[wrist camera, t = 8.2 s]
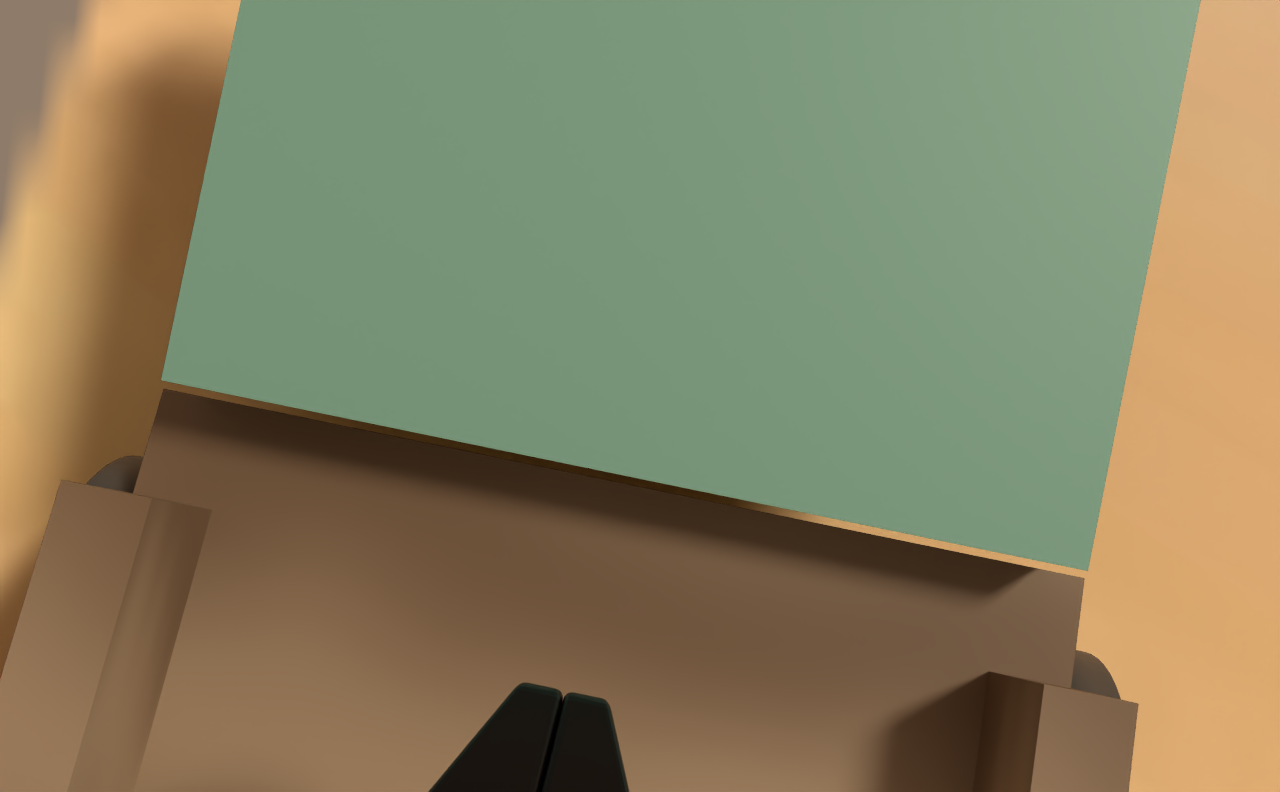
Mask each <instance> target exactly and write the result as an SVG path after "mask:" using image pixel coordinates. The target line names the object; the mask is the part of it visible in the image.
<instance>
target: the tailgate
mask: <svg viewBox="0 0 1280 792" xmlns="http://www.w3.org/2000/svg"><path fill="white" fill-rule="evenodd" d="M1200 1H1201V0H241V4H240V8H239V13H238V18H237V23H236V27H235V32H234V37H233V41H232V46H231V51H230V56H229V60H228V65H227V70H226V75H225V79H224V84H223V89H222V94H221V98H220V103H219V108H218V113H217V117H216V122H215V127H214V132H213V136H212V141H211V146H210V151H209V155H208V160H207V165H206V169H205V174H204V179H203V184H202V188H201V193H200V198H199V203H198V207H197V212H196V217H195V222H194V226H193V231H192V236H191V241H190V245H189V250H188V255H187V260H186V264H185V269H184V274H183V278H182V283H181V288H180V293H179V297H178V302H177V307H176V312H175V316H174V321H173V326H172V331H171V335H170V340H169V345H168V350H167V354H166V359H165V364H164V369H163V373H162V378H161V380H162V381H167V382H172V383H177V384H181V385H186V386H191V387H196V388H201V389H206V390H211V391H215V392H220V393H225V394H230V395H235V396H240V397H245V398H249V399H254V400H259V401H264V402H269V403H274V404H279V405H283V406H288V407H293V408H298V409H303V410H308V411H313V412H318V413H322V414H327V415H332V416H337V417H342V418H347V419H352V420H356V421H361V422H366V423H371V424H376V425H381V426H386V427H390V428H395V429H400V430H405V431H410V432H415V433H420V434H424V435H429V436H434V437H439V438H444V439H449V440H454V441H459V442H463V443H468V444H473V445H478V446H483V447H488V448H493V449H497V450H502V451H507V452H512V453H517V454H522V455H527V456H531V457H536V458H541V459H546V460H551V461H556V462H561V463H565V464H570V465H575V466H580V467H585V468H590V469H595V470H600V471H604V472H609V473H614V474H619V475H624V476H629V477H634V478H638V479H643V480H648V481H653V482H658V483H663V484H668V485H672V486H677V487H682V488H687V489H692V490H697V491H702V492H707V493H711V494H716V495H721V496H726V497H731V498H736V499H741V500H745V501H750V502H755V503H760V504H765V505H770V506H775V507H779V508H784V509H789V510H794V511H799V512H804V513H809V514H813V515H818V516H823V517H828V518H833V519H838V520H843V521H848V522H852V523H857V524H862V525H867V526H872V527H877V528H882V529H886V530H891V531H896V532H901V533H906V534H911V535H916V536H920V537H925V538H930V539H935V540H940V541H945V542H950V543H954V544H959V545H964V546H969V547H974V548H979V549H984V550H989V551H993V552H998V553H1003V554H1008V555H1013V556H1018V557H1023V558H1027V559H1032V560H1037V561H1042V562H1047V563H1052V564H1057V565H1061V566H1066V567H1071V568H1076V569H1081V570H1086V571H1088V567H1089V562H1090V557H1091V552H1092V547H1093V542H1094V537H1095V532H1096V527H1097V522H1098V517H1099V512H1100V507H1101V502H1102V496H1103V491H1104V486H1105V481H1106V476H1107V471H1108V466H1109V461H1110V456H1111V451H1112V446H1113V441H1114V436H1115V431H1116V426H1117V421H1118V416H1119V411H1120V406H1121V400H1122V395H1123V390H1124V385H1125V380H1126V375H1127V370H1128V365H1129V360H1130V355H1131V350H1132V345H1133V340H1134V335H1135V330H1136V325H1137V320H1138V315H1139V309H1140V304H1141V299H1142V294H1143V289H1144V284H1145V279H1146V274H1147V269H1148V264H1149V259H1150V254H1151V249H1152V244H1153V239H1154V234H1155V229H1156V224H1157V219H1158V213H1159V208H1160V203H1161V198H1162V193H1163V188H1164V183H1165V178H1166V173H1167V168H1168V163H1169V158H1170V153H1171V148H1172V143H1173V138H1174V133H1175V128H1176V122H1177V117H1178V112H1179V107H1180V102H1181V97H1182V92H1183V87H1184V82H1185V77H1186V72H1187V67H1188V62H1189V57H1190V52H1191V47H1192V42H1193V37H1194V32H1195V26H1196V21H1197V16H1198V11H1199V6H1200Z"/></svg>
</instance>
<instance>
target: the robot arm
mask: <svg viewBox="0 0 1280 792" xmlns="http://www.w3.org/2000/svg"><path fill="white" fill-rule="evenodd" d="M428 792H629V787H628V783H627V778H626V774H625V769H624V765H623V760H622V756H621V751H620V747H619V742H618V738H617V733H616V729H615V724H614V720H613V715H612V711H611V707H610V705H609V703H608V702H607V701H606V700H605V699H603V698H599V697H594V696H589V695H585V694H580V693H575V692H570V693H568V694H566V695H565V696H564V698H563V695H562V692H561V691H560V690H558V689H556V688H551V687H547V686H542V685H537V684H532V683H528V682H524V683H521V684H519V685H518V686H517V687H515V688H514V689H513V691H512V692H511V693H510V694H509V695H508V696H507V698H506V699H505V700H504V701H503V702H502V704H501V705H500V706H499V707H498V708H497V710H496V711H495V712H494V713H493V714H492V716H491V717H490V718H489V719H488V720H487V722H486V723H485V724H484V725H483V726H482V728H481V729H480V730H479V731H478V732H477V734H476V735H475V736H474V737H473V738H472V740H471V741H470V742H469V743H468V744H467V746H466V747H465V748H464V749H463V750H462V752H461V753H460V754H459V755H458V756H457V758H456V759H455V760H454V761H453V762H452V764H451V765H450V766H449V767H448V768H447V770H446V771H445V772H444V773H443V774H442V776H441V777H440V778H439V779H438V780H437V782H436V783H435V784H434V785H433V786H432V788H431V789H430V790H429V791H428Z"/></svg>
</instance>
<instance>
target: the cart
mask: <svg viewBox="0 0 1280 792" xmlns="http://www.w3.org/2000/svg"><path fill="white" fill-rule="evenodd" d="M1083 586H1084V578H1080V577H1075V576H1071V575H1066V574H1061V573H1056V572H1051V571H1046V570H1041V569H1037V568H1032V567H1027V566H1022V565H1017V564H1012V563H1007V562H1003V561H998V560H993V559H988V558H983V557H978V556H973V555H969V554H964V553H959V552H954V551H949V550H944V549H939V548H935V547H930V546H925V545H920V544H915V543H910V542H905V541H901V540H896V539H891V538H886V537H881V536H876V535H871V534H866V533H862V532H857V531H852V530H847V529H842V528H837V527H832V526H828V525H823V524H818V523H813V522H808V521H803V520H798V519H794V518H789V517H784V516H779V515H774V514H769V513H764V512H760V511H755V510H750V509H745V508H740V507H735V506H730V505H726V504H721V503H716V502H711V501H706V500H701V499H696V498H692V497H687V496H682V495H677V494H672V493H667V492H662V491H658V490H653V489H648V488H643V487H638V486H633V485H628V484H624V483H619V482H614V481H609V480H604V479H599V478H594V477H590V476H585V475H580V474H575V473H570V472H565V471H560V470H556V469H551V468H546V467H541V466H536V465H531V464H526V463H522V462H517V461H512V460H507V459H502V458H497V457H492V456H488V455H483V454H478V453H473V452H468V451H463V450H458V449H453V448H449V447H444V446H439V445H434V444H429V443H424V442H419V441H415V440H410V439H405V438H400V437H395V436H390V435H385V434H381V433H376V432H371V431H366V430H361V429H356V428H351V427H347V426H342V425H337V424H332V423H327V422H322V421H317V420H313V419H308V418H303V417H298V416H293V415H288V414H283V413H279V412H274V411H269V410H264V409H259V408H254V407H249V406H245V405H240V404H235V403H230V402H225V401H220V400H215V399H211V398H206V397H201V396H196V395H191V394H186V393H181V392H177V391H172V390H167V389H163V393H162V396H161V399H160V403H159V406H158V410H157V413H156V417H155V420H154V423H153V427H152V430H151V434H150V437H149V440H148V444H147V447H146V451H145V454H144V457H141V456H126V457H123V458H120V459H117V460H115V461H113V462H112V463H110V464H108V465H107V466H105V467H104V468H103V469H101V470H100V471H99V472H98V473H97V474H96V475H95V476H94V477H93V478H92V479H91V480H90V481H89V482H88V483H87V484H81V483H76V482H70V481H65V480H61V482H60V486H59V489H58V492H57V495H56V499H55V502H54V505H53V508H52V512H51V515H50V518H49V521H48V525H47V528H46V531H45V535H44V538H43V541H42V544H41V548H40V551H39V554H38V557H37V561H36V564H35V567H34V570H33V574H32V577H31V580H30V584H29V587H28V590H27V593H26V597H25V600H24V603H23V606H22V610H21V613H20V616H19V619H18V623H17V626H16V629H15V633H14V636H13V639H12V642H11V646H10V649H9V652H8V655H7V659H6V662H5V665H4V668H3V672H2V675H1V678H0V792H428V791H429V790H430V789H431V788H432V786H433V785H434V784H435V783H436V782H437V780H438V779H439V778H440V777H441V776H442V774H443V773H444V772H445V771H446V770H447V768H448V767H449V766H450V765H451V764H452V762H453V761H454V760H455V759H456V758H457V756H458V755H459V754H460V753H461V752H462V750H463V749H464V748H465V747H466V746H467V744H468V743H469V742H470V741H471V740H472V738H473V737H474V736H475V735H476V734H477V732H478V731H479V730H480V729H481V728H482V726H483V725H484V724H485V723H486V722H487V720H488V719H489V718H490V717H491V716H492V714H493V713H494V712H495V711H496V710H497V708H498V707H499V706H500V705H501V704H502V702H503V701H504V700H505V699H506V698H507V696H508V695H509V694H510V693H511V692H512V691H513V689H514V688H515V687H517V686H518V685H519V684H521V683H524V682H528V683H532V684H537V685H542V686H547V687H551V688H556V689H558V690H560V691H561V692H562V695H563V698H564V696H565V695H566V694H568V693H570V692H575V693H580V694H585V695H589V696H594V697H599V698H603V699H605V700H606V701H607V702H608V703H609V705H610V707H611V711H612V715H613V720H614V724H615V729H616V733H617V738H618V742H619V747H620V751H621V756H622V760H623V765H624V769H625V774H626V778H627V783H628V787H629V792H1129V782H1130V773H1131V764H1132V755H1133V746H1134V737H1135V729H1136V720H1137V711H1138V704H1137V703H1133V702H1129V701H1124V700H1121V699H1120V696H1119V693H1118V690H1117V687H1116V685H1115V683H1114V681H1113V679H1112V677H1111V675H1110V673H1109V671H1108V670H1107V669H1106V667H1105V666H1104V664H1103V663H1102V662H1101V661H1100V660H1099V659H1098V658H1096V657H1095V656H1093V655H1092V654H1089V653H1086V652H1082V651H1077V650H1076V643H1077V635H1078V627H1079V619H1080V611H1081V603H1082V594H1083Z"/></svg>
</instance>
